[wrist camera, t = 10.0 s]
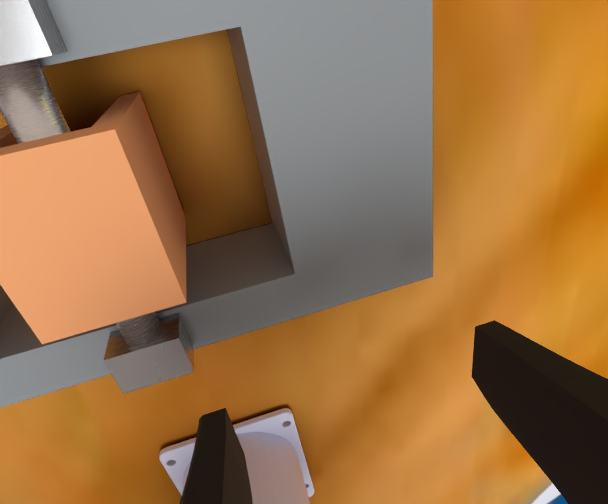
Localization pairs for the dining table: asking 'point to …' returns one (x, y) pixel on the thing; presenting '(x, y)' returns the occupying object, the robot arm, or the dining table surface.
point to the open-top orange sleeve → (90, 225)
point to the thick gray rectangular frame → (272, 162)
